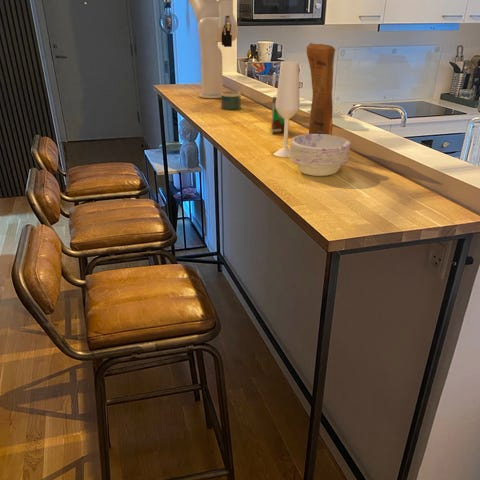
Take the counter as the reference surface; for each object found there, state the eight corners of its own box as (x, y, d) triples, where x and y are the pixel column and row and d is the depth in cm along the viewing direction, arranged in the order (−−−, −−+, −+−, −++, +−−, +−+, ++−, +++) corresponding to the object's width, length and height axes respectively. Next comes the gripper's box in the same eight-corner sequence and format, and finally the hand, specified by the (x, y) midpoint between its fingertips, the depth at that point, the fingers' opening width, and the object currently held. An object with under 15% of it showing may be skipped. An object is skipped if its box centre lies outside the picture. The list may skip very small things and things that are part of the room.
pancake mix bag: (314, 157, 143) (323, 46, 128) (299, 141, 159) (305, 41, 144) (336, 156, 144) (348, 46, 129) (319, 141, 160) (328, 41, 145)
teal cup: (220, 106, 211) (220, 91, 207) (239, 106, 212) (239, 90, 208) (222, 110, 204) (222, 94, 201) (241, 109, 205) (241, 93, 202)
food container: (291, 135, 166) (293, 103, 161) (272, 135, 166) (273, 102, 161) (288, 127, 177) (290, 96, 171) (271, 127, 177) (272, 96, 171)
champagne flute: (298, 152, 148) (304, 61, 135) (294, 158, 143) (300, 63, 130) (276, 150, 150) (280, 60, 137) (271, 156, 144) (274, 63, 131)
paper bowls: (333, 183, 123) (336, 150, 118) (278, 173, 130) (280, 142, 125) (355, 168, 134) (359, 137, 129) (304, 160, 140) (306, 130, 136)
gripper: (214, -4, 201) (215, 44, 210) (218, -5, 186) (219, 47, 195) (233, -4, 202) (233, 44, 211) (238, -5, 187) (238, 47, 196)
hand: (226, 45), depth 203 cm, fingers open, 9 cm apart
